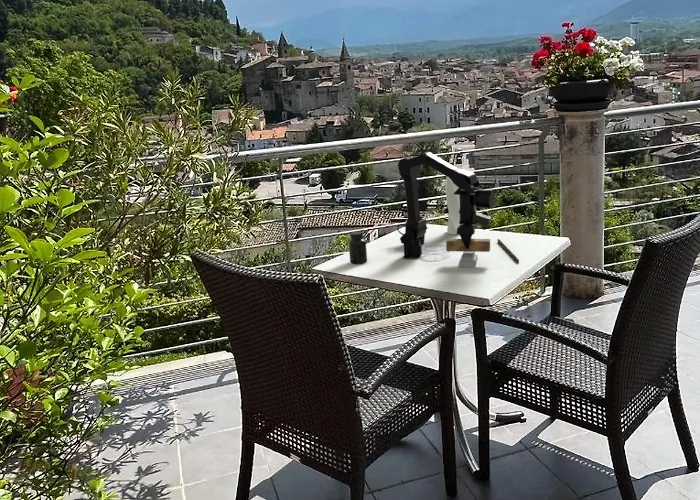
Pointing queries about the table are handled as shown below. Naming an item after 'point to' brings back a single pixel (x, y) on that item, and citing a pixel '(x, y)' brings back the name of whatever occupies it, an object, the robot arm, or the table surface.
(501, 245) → the rod
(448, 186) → the skyscraper
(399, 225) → the coffee mug
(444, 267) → the table surface
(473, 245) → the walnut rod
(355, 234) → the supplement bottle
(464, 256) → the ridge block
